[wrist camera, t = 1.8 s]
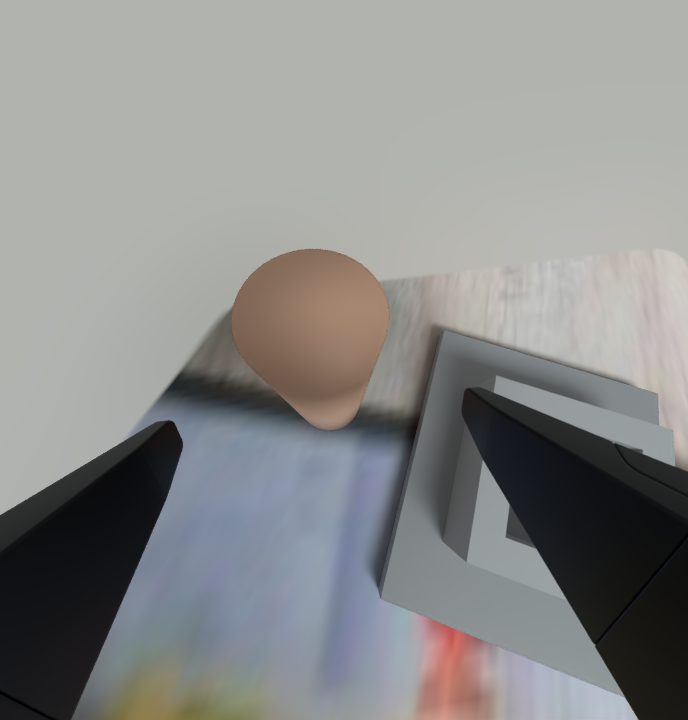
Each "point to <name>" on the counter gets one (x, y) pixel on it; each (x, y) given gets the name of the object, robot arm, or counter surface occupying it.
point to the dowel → (313, 331)
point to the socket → (500, 506)
